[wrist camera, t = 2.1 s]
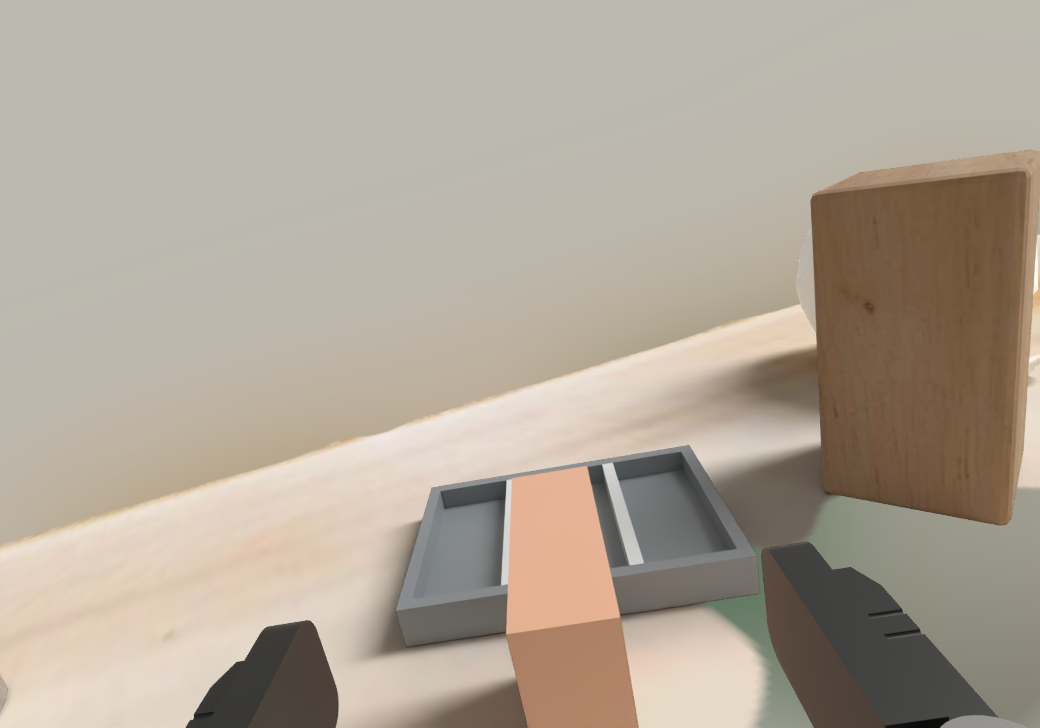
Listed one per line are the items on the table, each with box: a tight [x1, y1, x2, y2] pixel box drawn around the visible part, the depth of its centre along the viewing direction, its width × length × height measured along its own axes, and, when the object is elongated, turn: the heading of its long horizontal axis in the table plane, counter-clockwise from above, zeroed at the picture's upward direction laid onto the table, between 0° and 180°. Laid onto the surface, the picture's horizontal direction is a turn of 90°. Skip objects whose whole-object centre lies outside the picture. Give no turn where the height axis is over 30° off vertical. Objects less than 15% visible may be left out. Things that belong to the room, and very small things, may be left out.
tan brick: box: [506, 466, 639, 728], centre depth 25 cm, size 10×4×11 cm, turn 0°
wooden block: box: [811, 150, 1040, 525], centre depth 38 cm, size 10×10×20 cm
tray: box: [396, 445, 760, 647], centre depth 40 cm, size 14×20×2 cm
